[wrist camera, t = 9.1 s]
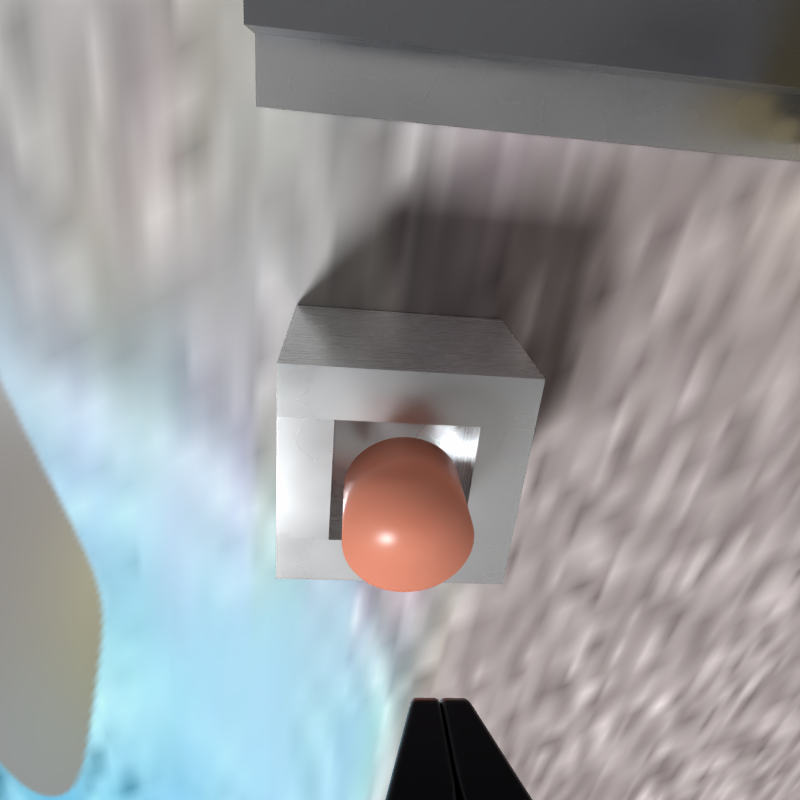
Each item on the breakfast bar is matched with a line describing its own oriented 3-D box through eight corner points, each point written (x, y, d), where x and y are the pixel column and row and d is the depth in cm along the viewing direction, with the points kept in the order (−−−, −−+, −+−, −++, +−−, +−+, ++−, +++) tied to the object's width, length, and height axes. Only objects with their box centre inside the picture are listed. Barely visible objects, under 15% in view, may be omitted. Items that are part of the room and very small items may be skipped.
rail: (1181, -75, 14) (1300, -104, 13) (1045, 186, 17) (1128, 194, 15) (256, -218, 12) (239, -277, 10) (259, 106, 15) (245, 104, 13)
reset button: (467, 440, 14) (483, 487, 12) (451, 536, 15) (464, 593, 13) (346, 434, 14) (345, 482, 12) (340, 532, 15) (338, 590, 13)
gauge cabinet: (501, 319, 17) (545, 379, 13) (472, 490, 20) (502, 584, 16) (296, 305, 17) (277, 363, 13) (292, 482, 19) (276, 578, 15)
